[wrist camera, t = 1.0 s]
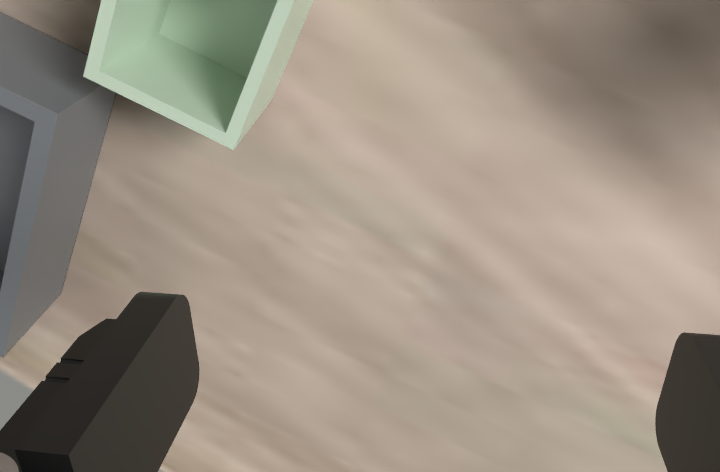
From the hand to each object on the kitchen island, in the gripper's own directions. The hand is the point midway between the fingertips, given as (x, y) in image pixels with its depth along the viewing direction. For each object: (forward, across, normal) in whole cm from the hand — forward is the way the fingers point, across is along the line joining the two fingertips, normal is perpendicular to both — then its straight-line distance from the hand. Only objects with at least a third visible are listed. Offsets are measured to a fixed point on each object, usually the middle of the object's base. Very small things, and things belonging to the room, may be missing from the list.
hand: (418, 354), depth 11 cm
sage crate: (+19, +9, -3) cm, 21 cm away
